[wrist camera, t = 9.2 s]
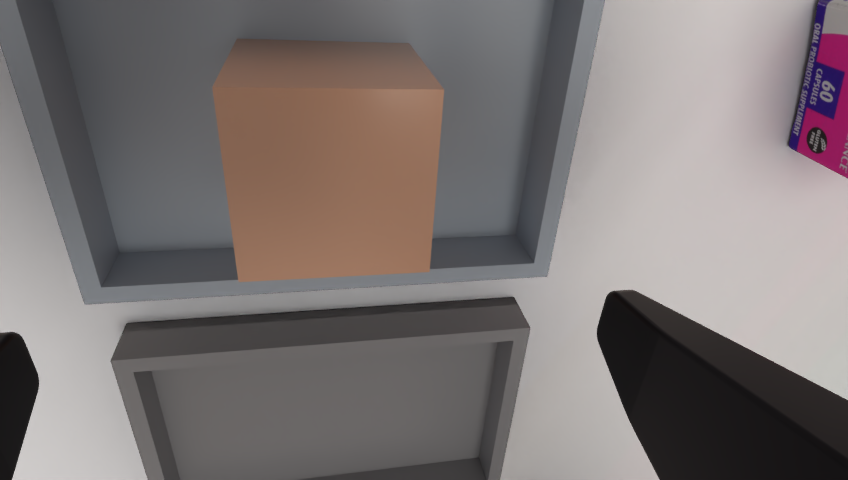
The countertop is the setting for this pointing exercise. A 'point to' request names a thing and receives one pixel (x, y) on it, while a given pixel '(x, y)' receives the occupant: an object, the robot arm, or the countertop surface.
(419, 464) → the bin
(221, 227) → the tray
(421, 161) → the brown cube
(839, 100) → the supplement box
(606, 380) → the countertop surface
